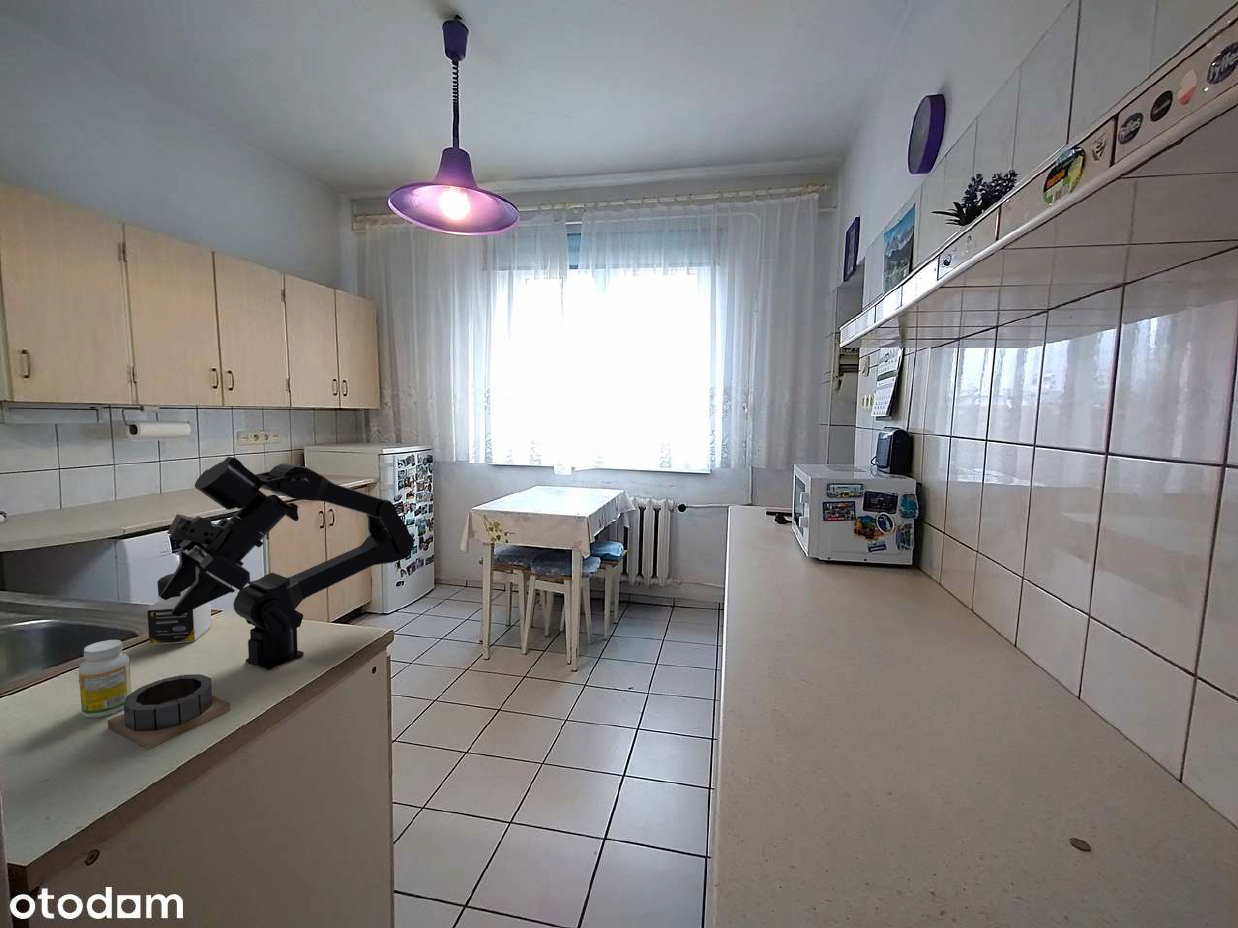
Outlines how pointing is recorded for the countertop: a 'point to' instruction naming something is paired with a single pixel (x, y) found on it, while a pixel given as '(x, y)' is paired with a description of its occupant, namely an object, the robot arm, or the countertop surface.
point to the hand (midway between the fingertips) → (168, 606)
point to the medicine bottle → (176, 619)
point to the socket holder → (167, 709)
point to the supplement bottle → (104, 679)
